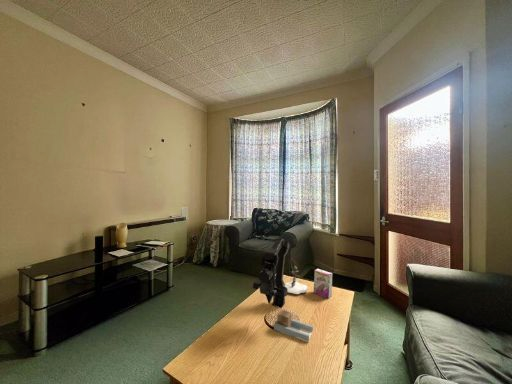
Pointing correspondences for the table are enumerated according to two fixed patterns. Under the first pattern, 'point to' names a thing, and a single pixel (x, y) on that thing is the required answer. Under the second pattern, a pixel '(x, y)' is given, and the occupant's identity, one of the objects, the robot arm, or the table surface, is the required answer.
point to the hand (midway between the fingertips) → (269, 302)
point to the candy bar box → (323, 283)
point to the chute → (296, 330)
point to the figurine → (295, 285)
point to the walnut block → (284, 318)
